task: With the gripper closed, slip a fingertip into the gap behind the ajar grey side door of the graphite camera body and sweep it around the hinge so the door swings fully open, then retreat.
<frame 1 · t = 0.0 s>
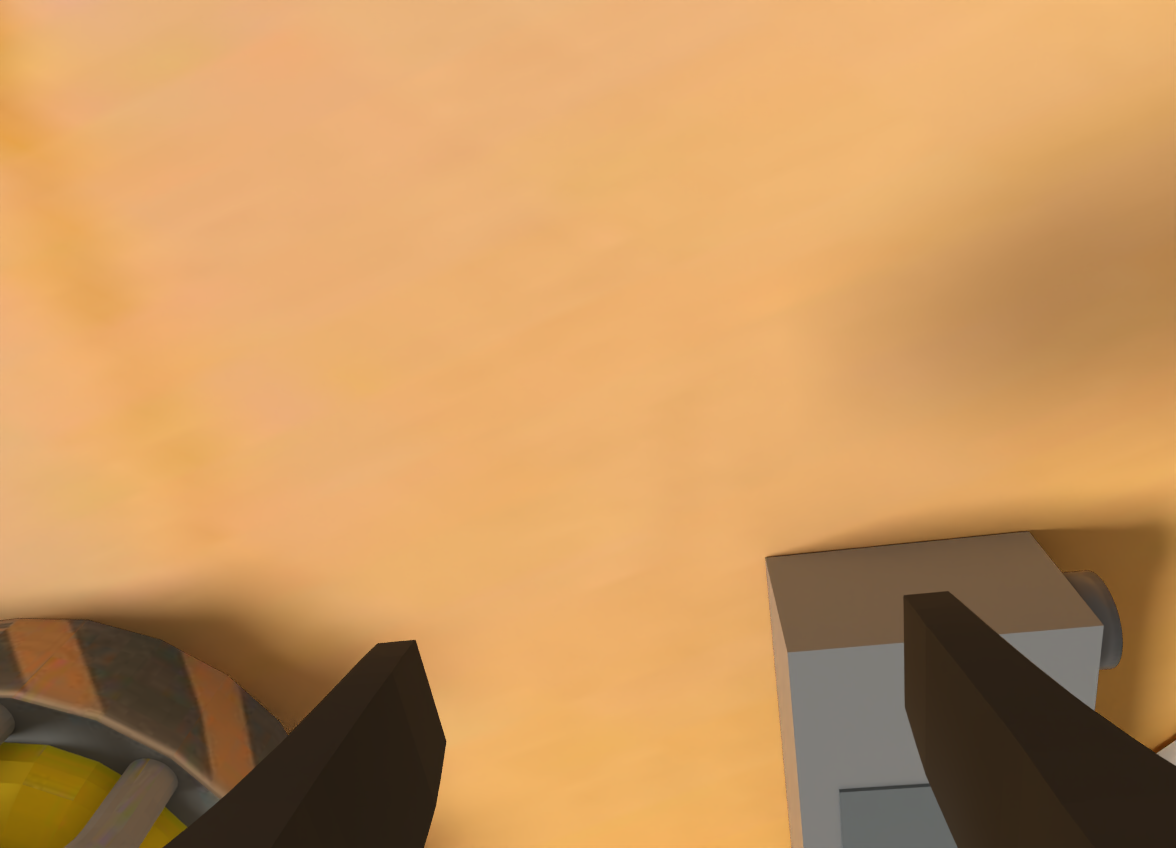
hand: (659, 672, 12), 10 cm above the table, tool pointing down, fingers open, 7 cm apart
camera body: (897, 712, 25), on the table
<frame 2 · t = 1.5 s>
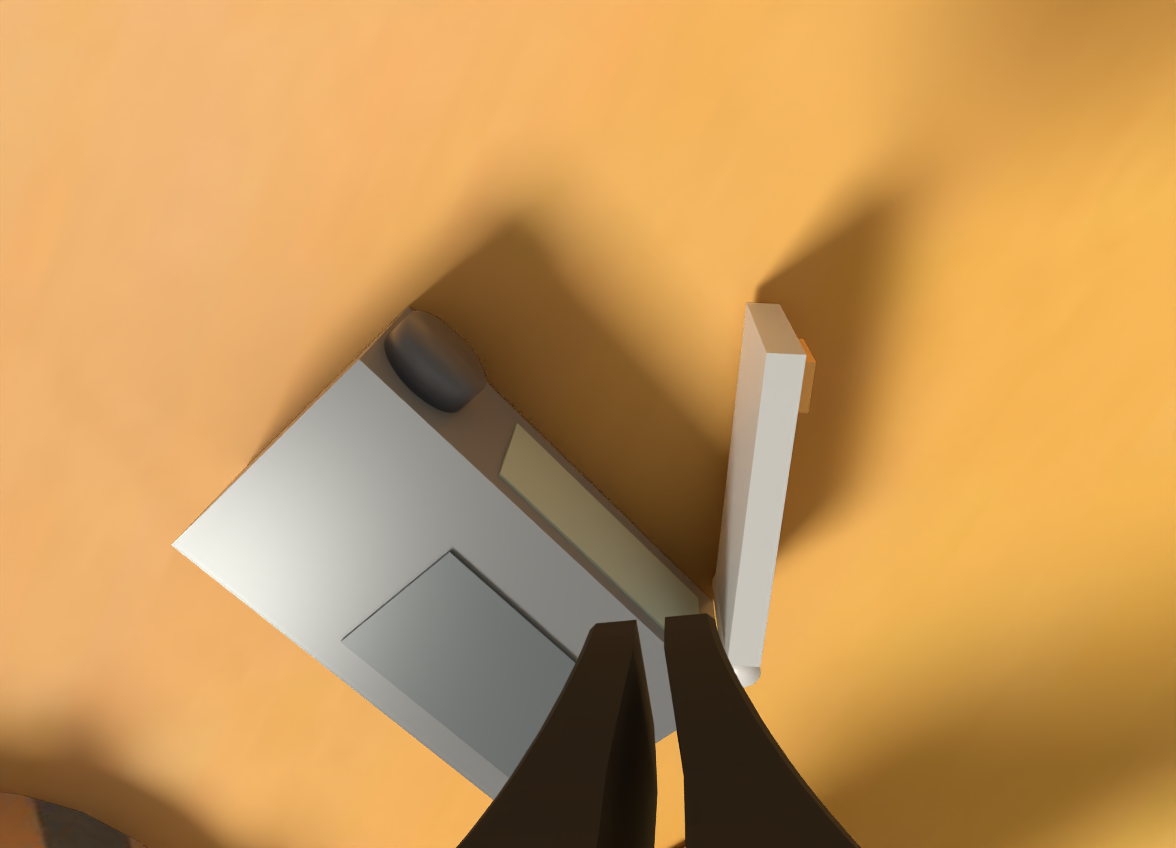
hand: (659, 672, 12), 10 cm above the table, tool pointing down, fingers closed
side door: (759, 496, 20), point 2 cm above the table, hinge at 45.0°
camera body: (483, 535, 24), on the table
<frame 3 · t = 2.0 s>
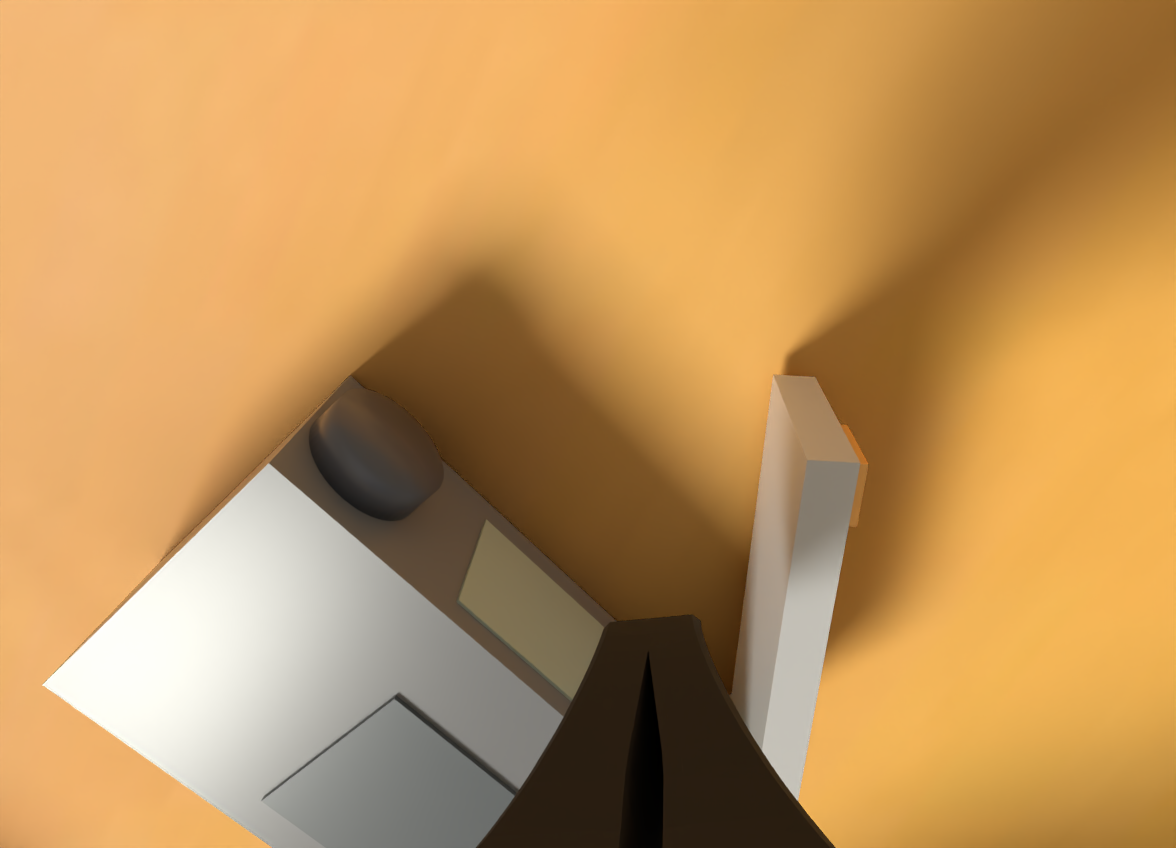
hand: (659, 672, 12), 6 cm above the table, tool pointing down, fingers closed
side door: (789, 618, 16), point 2 cm above the table, hinge at 45.0°
camera body: (448, 645, 20), on the table
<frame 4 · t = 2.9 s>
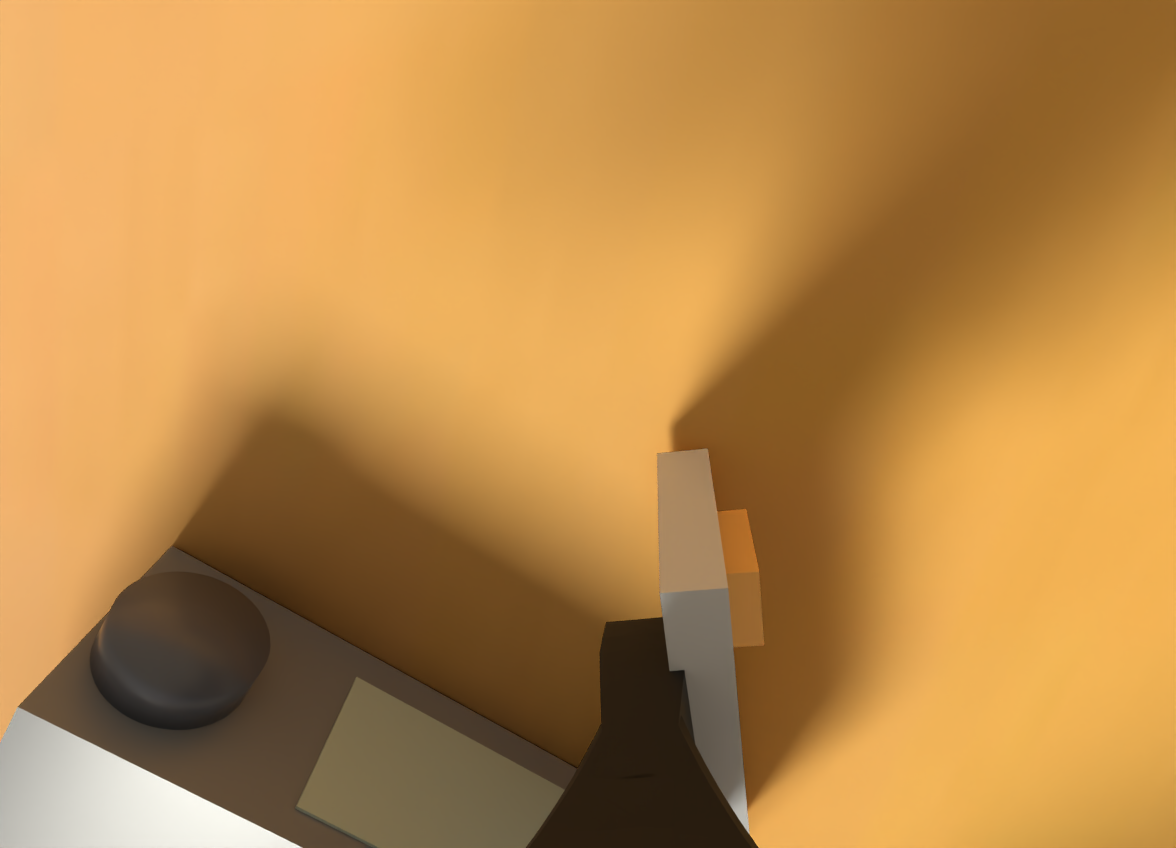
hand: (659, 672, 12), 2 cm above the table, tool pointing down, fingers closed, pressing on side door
side door: (724, 742, 13), point 2 cm above the table, hinge at 48.1°, touching gripper
camera body: (374, 805, 17), on the table
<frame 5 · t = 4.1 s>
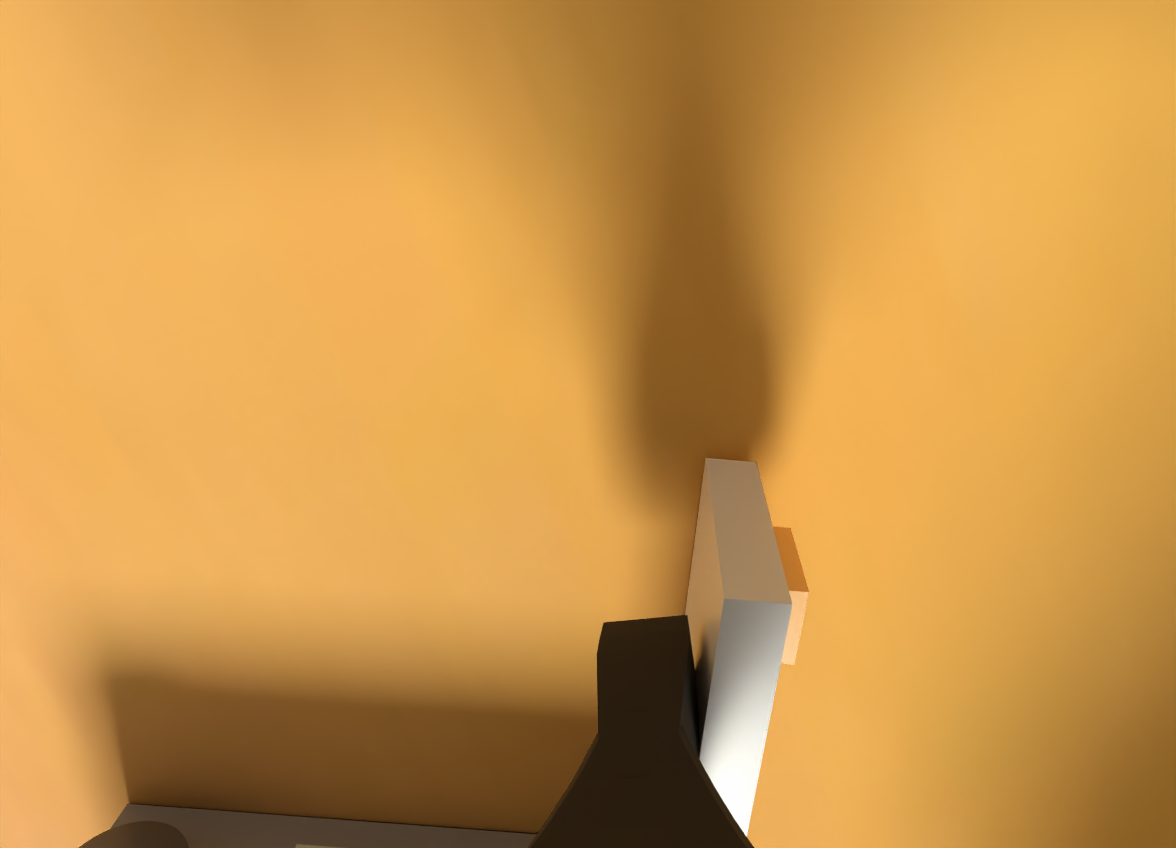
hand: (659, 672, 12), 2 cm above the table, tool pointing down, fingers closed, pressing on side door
side door: (717, 751, 13), point 2 cm above the table, hinge at 92.3°, touching gripper
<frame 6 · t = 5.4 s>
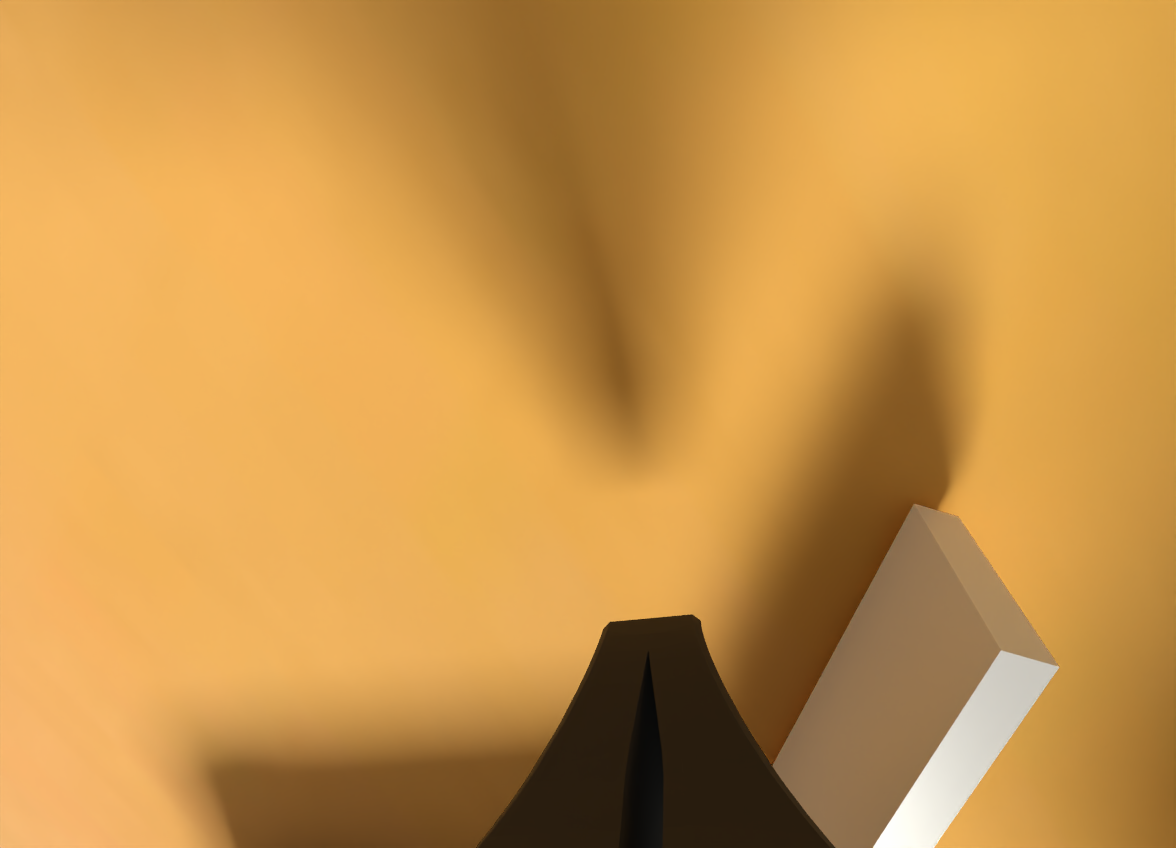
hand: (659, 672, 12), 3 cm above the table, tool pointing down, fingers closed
side door: (862, 777, 14), point 2 cm above the table, hinge at 115.7°
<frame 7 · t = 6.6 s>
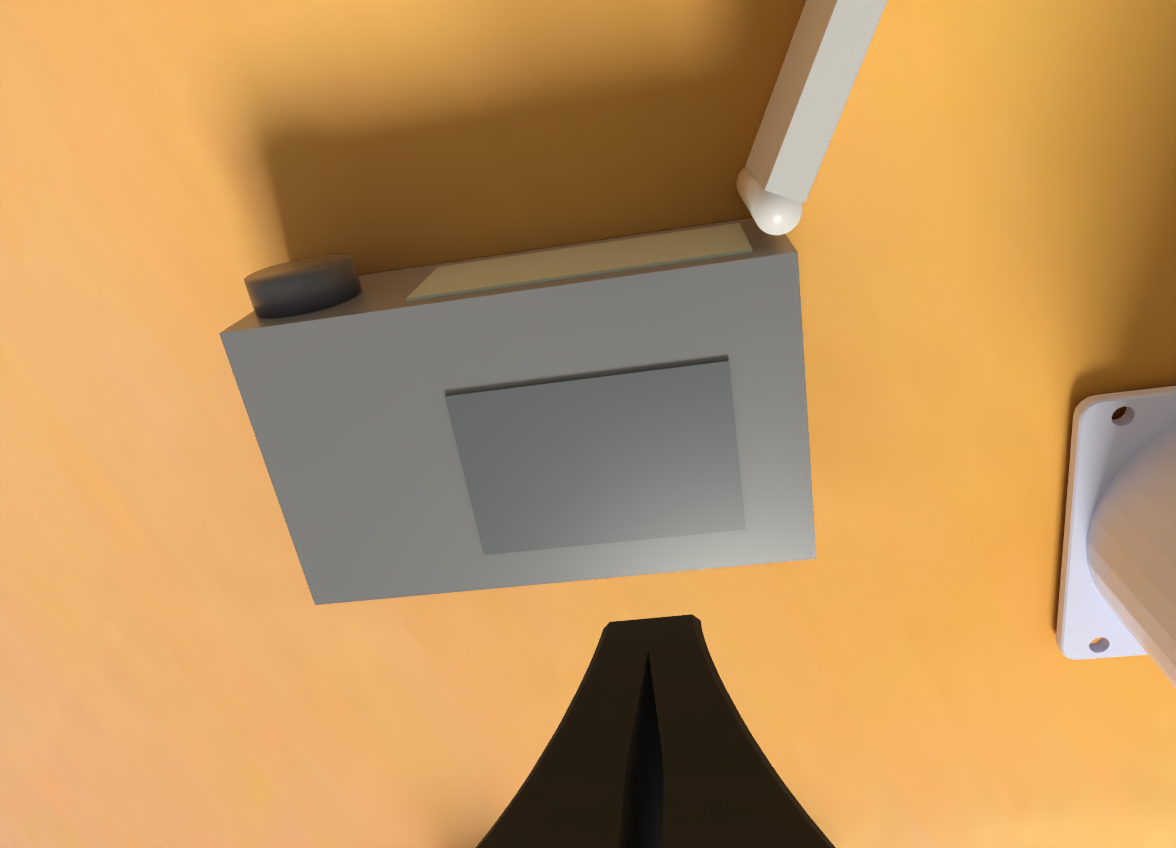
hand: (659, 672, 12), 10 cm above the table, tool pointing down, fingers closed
camera body: (548, 383, 22), on the table
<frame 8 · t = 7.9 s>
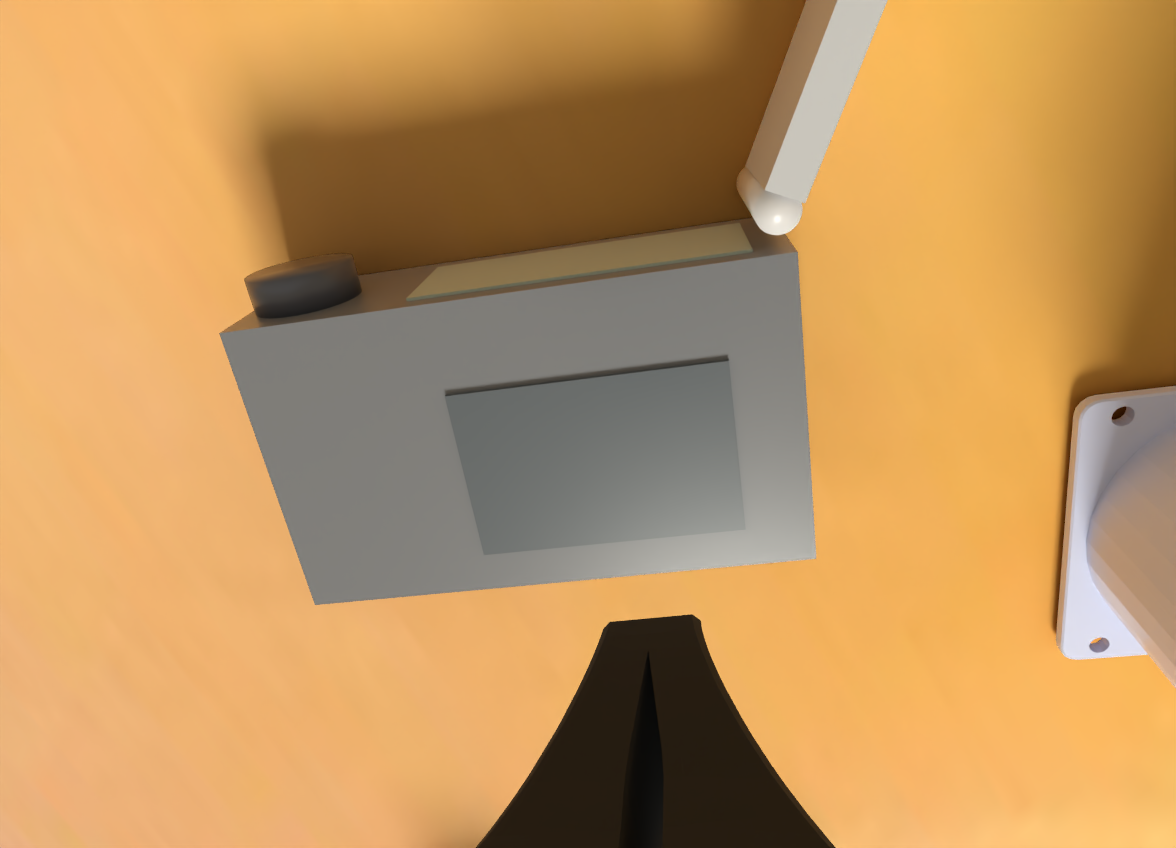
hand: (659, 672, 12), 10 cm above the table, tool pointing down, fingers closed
camera body: (548, 383, 22), on the table
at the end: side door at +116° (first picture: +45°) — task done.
